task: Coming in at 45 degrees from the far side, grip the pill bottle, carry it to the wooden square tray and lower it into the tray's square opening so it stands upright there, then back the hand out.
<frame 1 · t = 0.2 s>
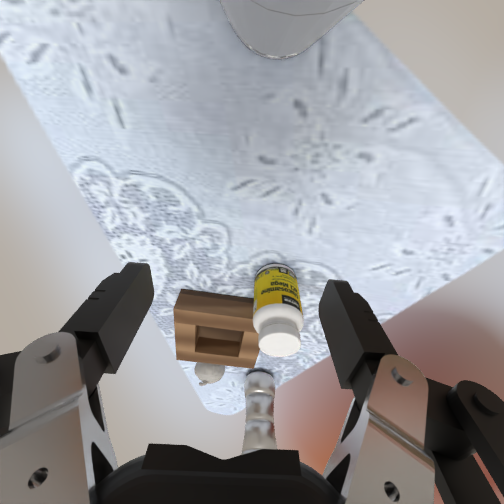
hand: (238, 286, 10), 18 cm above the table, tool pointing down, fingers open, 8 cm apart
plastic bottle: (259, 373, 51), on the table
pill bottle: (275, 277, 34), on the table
wooden square tray: (221, 321, 40), on the table
garlic: (212, 358, 48), on the table
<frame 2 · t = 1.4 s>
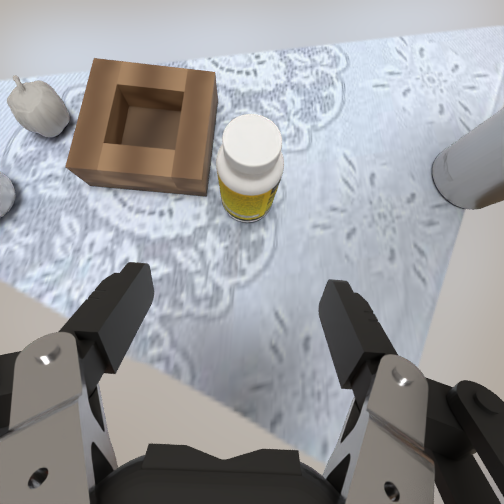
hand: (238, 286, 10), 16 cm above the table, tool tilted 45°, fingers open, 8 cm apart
pill bottle: (247, 200, 28), on the table
wooden square tray: (157, 140, 29), on the table
garlic: (56, 125, 29), on the table
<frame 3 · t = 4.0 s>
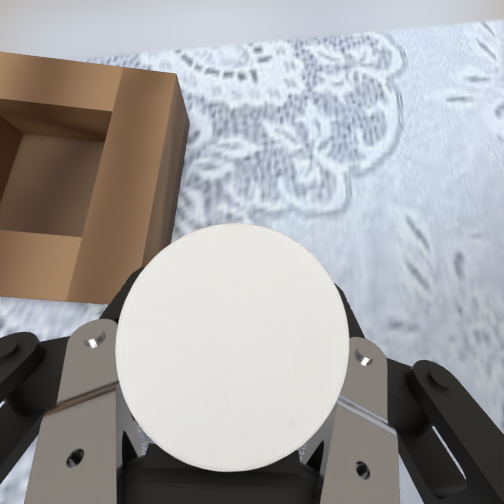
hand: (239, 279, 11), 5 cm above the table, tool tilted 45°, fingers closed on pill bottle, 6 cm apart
pill bottle: (236, 310, 15), on the table, touching gripper
wooden square tray: (76, 196, 16), on the table
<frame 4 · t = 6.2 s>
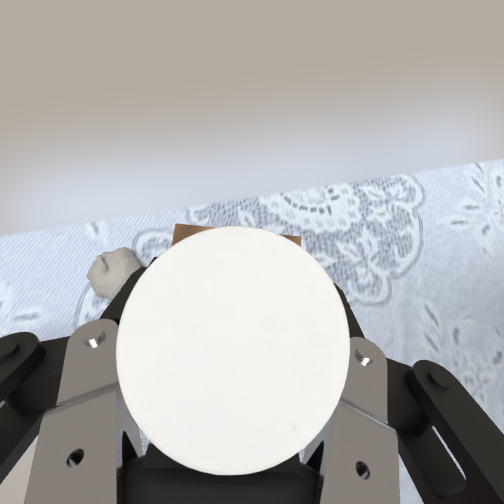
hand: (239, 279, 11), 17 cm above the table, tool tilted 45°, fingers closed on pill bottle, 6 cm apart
pill bottle: (236, 311, 15), point 12 cm above the table, touching gripper
wooden square tray: (233, 294, 28), on the table
garlic: (127, 276, 28), on the table
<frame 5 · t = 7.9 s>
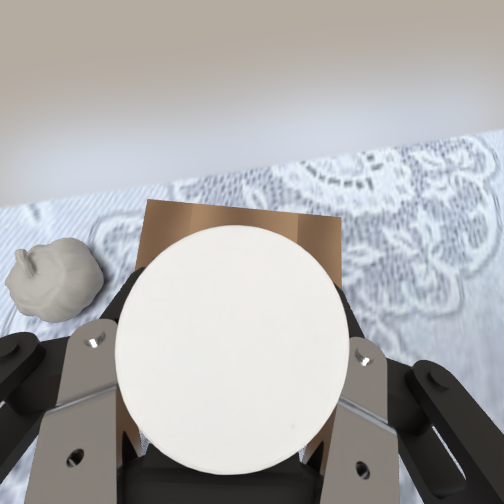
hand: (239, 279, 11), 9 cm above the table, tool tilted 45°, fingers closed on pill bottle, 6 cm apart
pill bottle: (236, 311, 15), point 3 cm above the table, touching gripper
wooden square tray: (237, 305, 19), on the table
garlic: (81, 281, 19), on the table
when the fingers open (7 cm above the table, at t = 8.8 s): pill bottle drops 1 cm, resting on wooden square tray.
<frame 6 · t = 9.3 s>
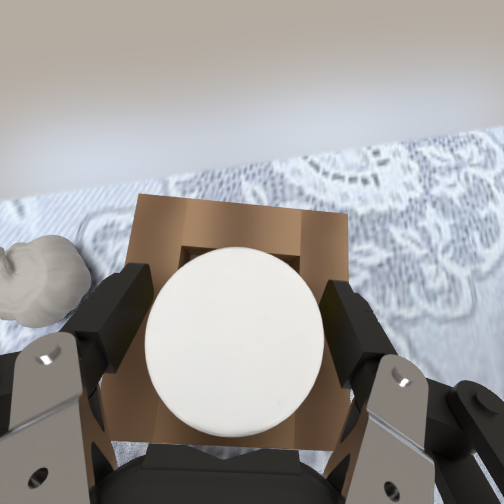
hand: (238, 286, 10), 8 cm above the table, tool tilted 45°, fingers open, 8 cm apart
pill bottle: (237, 312, 17), point 1 cm above the table, touching wooden square tray
wooden square tray: (236, 309, 18), on the table
garlic: (68, 282, 17), on the table
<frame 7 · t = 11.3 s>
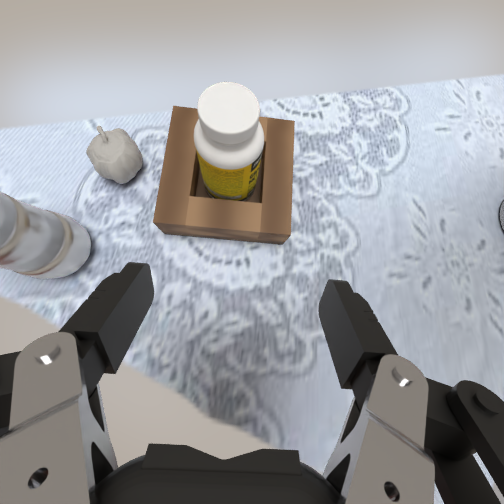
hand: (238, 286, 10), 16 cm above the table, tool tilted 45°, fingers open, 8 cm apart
plastic bottle: (70, 251, 25), on the table
pill bottle: (230, 184, 28), point 1 cm above the table, touching wooden square tray
wooden square tray: (229, 185, 29), on the table
garlic: (126, 168, 28), on the table
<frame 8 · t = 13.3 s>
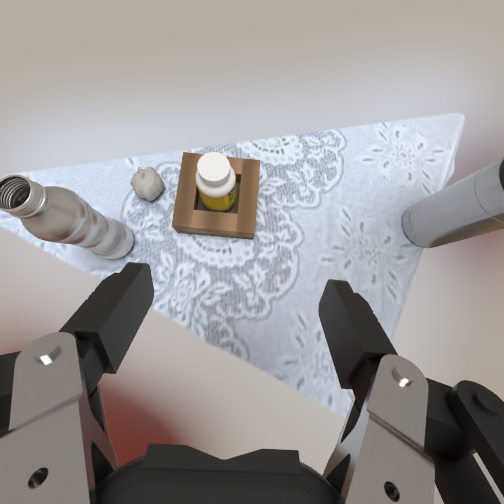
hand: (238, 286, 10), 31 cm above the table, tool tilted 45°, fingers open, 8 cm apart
plastic bottle: (119, 243, 41), on the table
pill bottle: (219, 200, 43), point 1 cm above the table, touching wooden square tray
wooden square tray: (219, 201, 44), on the table
garlic: (152, 190, 44), on the table
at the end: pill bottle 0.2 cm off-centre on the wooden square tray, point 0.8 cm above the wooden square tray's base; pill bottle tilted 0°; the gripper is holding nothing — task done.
